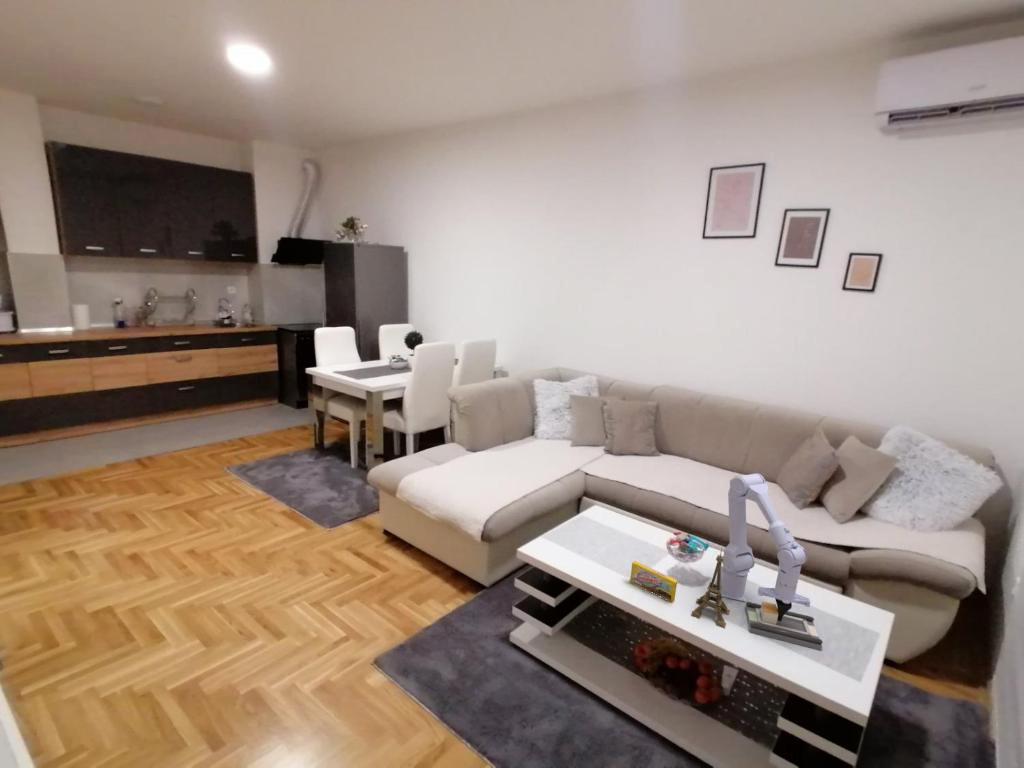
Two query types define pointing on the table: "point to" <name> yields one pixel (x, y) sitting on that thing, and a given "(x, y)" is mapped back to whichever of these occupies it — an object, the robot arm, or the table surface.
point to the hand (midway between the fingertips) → (779, 619)
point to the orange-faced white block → (769, 613)
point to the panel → (784, 627)
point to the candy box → (653, 581)
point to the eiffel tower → (713, 597)
